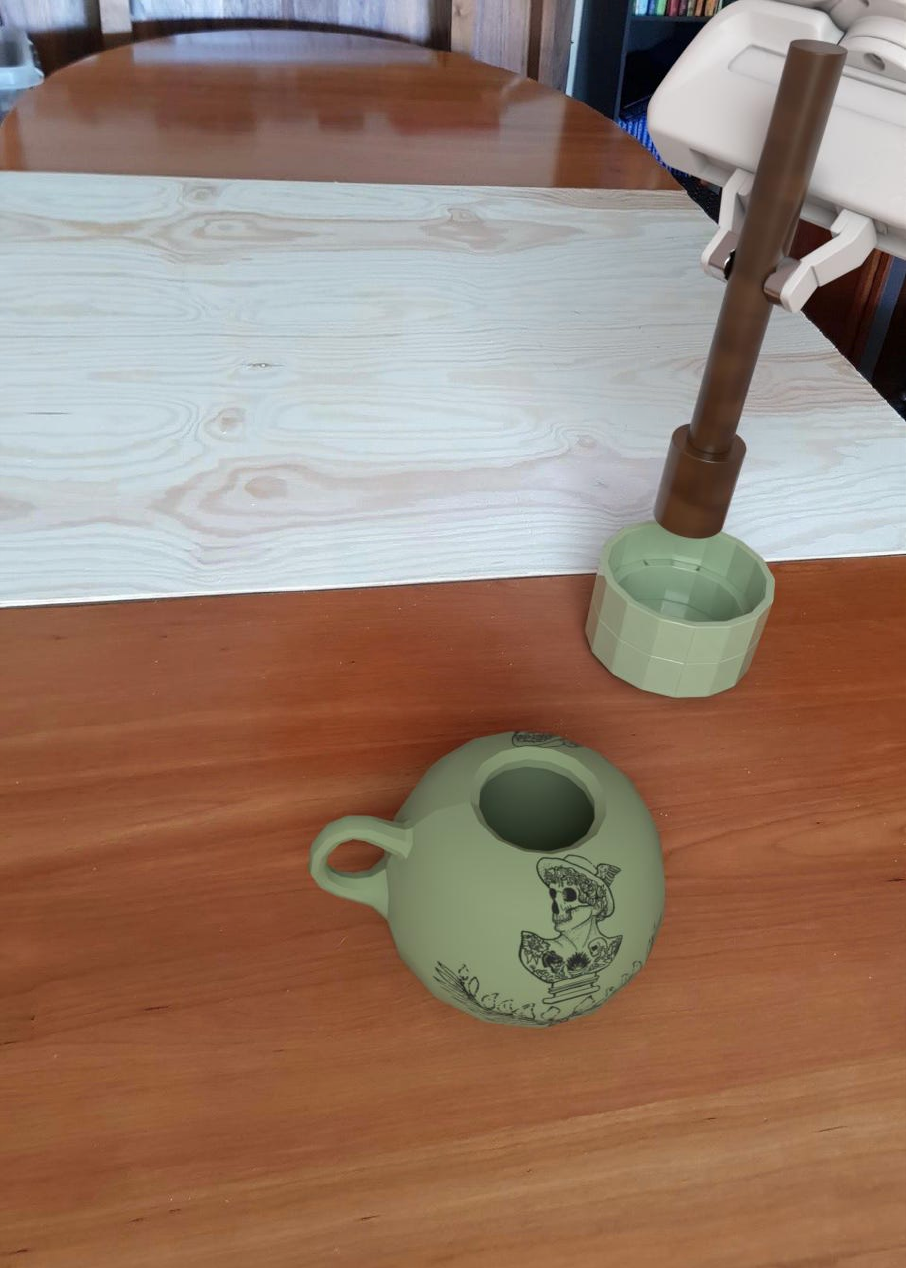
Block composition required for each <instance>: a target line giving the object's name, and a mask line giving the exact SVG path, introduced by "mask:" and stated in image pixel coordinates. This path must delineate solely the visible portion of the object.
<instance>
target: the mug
mask: <svg viewBox="0 0 906 1268" xmlns="http://www.w3.org/2000/svg"><path fill="white" fill-rule="evenodd" d="M352 840H355V841H362V842H367V843H368V844H371V845H374V846H376V847H378V848H381V849H383V856H382V858H381V859H380V860H379V861H377V863H375V864H374V865H373V866H372V867H371V868H369V869H364V870H360V871H356V872H351V871H341V870H339V869H337V868H335V867H333V866H330V865H329V863H328V859H329V856H330V854H331V853H332V852H333V851H334V850H335V849H336V848H337V847H338V846H339V845H340V844H343V843H346V842H349V841H352ZM662 845H663V844H662V840H661V837H660V833H659V829H658V825H657V824H656V822H655V820H654V818H653V816H652V814H651V812H650V810H649V808H648V807H647V806H646V804H645V802H644V800H643V799H642V797H641V795H640V793H639V792H638V790H637V788H636V786H635V785H634V782H633V781H632V780H631V777H629V776H628V775H627V774H625V773H624V772H623V771H622V770H621V769H619V768H618V767H617V766H615V765H614V764H613V763H612V762H611V761H610V760H608V759H607V758H606V757H605V756H603V755H602V754H601V753H600V752H599V751H597V750H594V749H592V748H590V747H587V746H585V745H582V744H580V743H577V742H575V741H573V740H570V739H567V738H565V737H563V736H559V735H557V734H551V733H540V732H532V731H531V732H530V731H524V730H523V731H522V730H521V731H520V730H511V731H506V732H501V733H496V734H491V735H485V736H481V737H476V738H472V739H471V740H469V741H467V742H466V743H464V744H463V745H460V746H458V747H457V748H456V749H454V750H452V751H451V752H448V753H447V754H445V755H444V756H442V757H441V758H439V759H438V760H437V761H435V762H434V763H433V764H432V765H431V766H429V767H428V769H427V770H426V772H425V773H424V774H423V776H422V777H420V780H419V781H418V782H417V784H416V785H415V786H414V788H413V790H412V791H411V792H410V794H409V795H408V797H407V798H406V799H405V801H404V803H403V804H402V806H401V807H400V808H399V810H398V811H397V812H396V814H395V815H394V817H393V821H391V820H387V819H384V818H379V817H376V816H372V815H354V814H353V815H351V814H350V815H345V816H343V817H340V818H339V819H336V820H333V821H331V822H329V823H327V824H325V826H324V828H323V829H322V830H321V831H319V833H318V834H317V835H316V837H315V838H313V841H312V843H311V846H310V849H309V856H308V862H307V863H308V864H307V869H308V871H309V874H310V875H311V877H312V878H313V880H314V881H315V883H316V884H317V885H318V887H319V889H322V890H324V891H326V892H327V893H329V894H331V895H333V896H336V897H338V898H342V899H345V900H348V901H352V902H356V903H357V904H362V905H365V906H369V907H371V908H372V909H373V910H375V911H376V912H377V914H379V915H380V916H381V917H382V918H384V919H385V920H386V922H387V925H388V928H389V930H390V934H391V937H392V939H393V942H394V945H395V948H396V950H397V954H398V956H399V959H400V960H401V961H402V963H404V965H405V966H406V967H407V968H408V969H409V970H410V971H411V973H413V975H414V976H415V977H416V978H417V979H418V980H419V982H420V983H421V984H422V985H423V986H424V987H425V989H427V990H428V992H429V993H430V994H431V995H432V996H433V997H434V998H435V999H437V1000H439V1001H442V1002H444V1003H445V1004H447V1005H449V1006H450V1007H453V1008H455V1009H457V1010H459V1011H462V1012H463V1013H466V1014H467V1015H470V1016H472V1017H473V1018H476V1019H478V1020H480V1021H482V1022H483V1023H488V1024H495V1025H505V1026H514V1027H525V1028H534V1029H545V1028H548V1027H552V1026H556V1025H559V1024H562V1023H566V1022H570V1021H573V1020H577V1019H579V1018H580V1019H581V1018H584V1017H588V1016H590V1015H594V1014H595V1013H596V1012H598V1011H599V1010H600V1009H601V1008H602V1007H603V1006H604V1005H606V1004H607V1003H608V1002H610V1000H612V999H613V998H614V997H615V996H617V994H619V993H620V992H621V991H622V990H624V989H625V988H626V987H627V986H628V985H630V983H632V981H633V980H634V979H635V978H636V976H637V975H638V974H639V973H640V972H641V971H642V969H643V967H644V966H645V965H646V964H647V962H648V959H649V957H650V954H651V952H652V950H653V947H654V944H655V942H656V939H657V937H658V934H659V931H660V930H661V927H662V924H663V922H664V920H665V908H666V907H665V906H666V891H667V890H666V889H667V888H666V877H665V867H664V857H663V856H664V855H663V848H662V847H663V846H662Z"/></svg>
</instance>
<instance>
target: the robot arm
mask: <svg viewBox="0 0 906 1268" xmlns="http://www.w3.org/2000/svg"><path fill="white" fill-rule="evenodd" d="M799 39H810V40H819V41H825V42H829V43H833V44H837V45H840V46H842V47H844V48H846V49H847V50H848V54H847V58H846V61H845V64H844V68H843V71H842V75H841V78H840V81H839V85H838V88H837V91H836V95H835V98H834V102H833V105H832V108H831V112H830V115H829V119H828V122H827V125H826V129H825V132H824V136H823V139H822V142H821V146H820V149H819V153H818V156H817V159H816V163H815V166H814V170H813V173H812V176H811V180H810V183H809V187H808V190H807V193H806V197H805V200H804V203H803V207H802V210H801V214H800V217H799V219H801V220H803V221H805V222H809V223H811V224H813V225H816V226H819V227H821V228H823V229H825V230H829V231H830V235H831V237H832V239H831V240H829V241H827V242H825V243H824V244H823V245H821V246H819V247H818V248H816V249H815V250H813V251H811V252H809V253H808V254H807V255H805V256H804V257H802V258H800V259H799V260H798V259H796V258H793V257H791V256H789V255H788V256H786V255H785V256H784V257H783V259H782V260H781V261H780V262H779V263H778V265H777V266H776V272H775V273H773V274H771V275H770V276H769V277H768V279H767V280H766V282H765V284H764V289H763V291H764V294H765V295H766V296H767V297H768V298H767V300H768V302H770V303H772V304H774V305H773V306H776V307H778V308H780V309H782V310H784V311H786V312H788V313H791V314H793V315H796V314H798V313H799V312H800V311H801V310H802V308H803V307H804V305H805V304H806V303H807V301H808V300H809V298H811V296H812V295H813V293H814V292H815V291H816V289H817V288H818V287H821V288H822V286H824V285H826V284H828V283H830V282H832V281H834V280H837V279H838V278H841V277H842V276H844V275H845V274H847V273H849V272H851V271H854V270H855V269H857V268H859V267H860V266H862V265H863V264H864V262H865V261H866V259H867V258H868V256H869V255H870V254H871V252H872V251H873V250H874V249H876V250H879V251H881V252H884V253H886V254H889V255H891V256H894V257H896V258H899V259H901V260H904V261H906V0H736V1H733V2H731V3H730V4H728V5H726V6H724V7H722V9H720V11H718V12H717V13H715V15H714V16H712V17H711V18H710V19H709V20H708V21H707V22H706V24H704V25H703V27H702V28H701V29H700V30H699V31H698V33H697V34H696V35H695V36H694V38H693V39H692V41H690V43H689V44H688V45H687V46H686V48H685V50H683V51H682V53H681V54H680V56H679V57H678V59H677V60H676V61H675V62H674V64H673V65H672V66H671V68H670V69H669V71H668V72H667V73H666V75H665V77H664V78H663V79H662V81H661V82H660V84H659V85H658V86H657V88H656V90H655V91H654V92H653V95H652V96H651V98H650V99H649V102H648V105H647V111H646V127H647V128H646V129H647V130H646V131H647V132H648V135H649V137H650V139H651V141H652V143H653V146H654V148H655V150H656V152H657V154H658V155H659V157H660V159H661V161H662V162H663V164H665V165H666V166H668V167H670V168H673V169H675V170H678V171H680V172H683V173H685V174H688V175H691V176H692V177H696V178H698V179H700V180H703V181H705V182H708V183H711V184H713V185H715V186H718V187H720V188H722V191H721V198H720V207H719V216H718V224H717V227H718V229H717V231H716V232H715V234H714V235H713V236H712V238H711V239H710V240H709V242H708V244H707V245H706V247H705V248H704V249H703V250H702V252H701V253H700V254H701V255H700V257H699V258H700V259H699V263H700V265H701V267H702V269H703V271H704V273H705V275H707V276H709V277H712V278H714V279H716V280H718V281H721V282H723V283H725V284H727V282H728V278H729V274H730V270H731V267H732V263H733V259H734V255H735V251H736V247H737V244H738V240H739V236H740V232H741V228H742V224H743V221H744V217H745V213H746V209H747V205H748V201H749V197H750V194H751V190H752V186H753V182H754V178H755V174H756V171H757V167H758V163H759V159H760V155H761V151H762V148H763V144H764V140H765V136H766V132H767V128H768V125H769V121H770V117H771V113H772V109H773V105H774V101H775V98H776V94H777V90H778V86H779V82H780V78H781V75H782V71H783V67H784V63H785V59H786V55H787V52H788V48H789V44H790V42H791V41H793V40H799Z"/></svg>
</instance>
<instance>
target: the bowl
mask: <svg viewBox="0 0 906 1268" xmlns="http://www.w3.org/2000/svg"><path fill="white" fill-rule="evenodd" d="M602 547H603V548H602V552H601V555H600V557H599V561H598V566H597V571H596V575H595V580H594V586H593V590H592V594H591V598H590V599H591V600H590V604H589V609H588V614H587V618H586V623H585V628H584V632H585V635H586V638H587V641H588V644H589V648H590V651H591V653H592V654H593V655H594V656H595V657H596V658H597V659H598V660H599V661H600V663H601V664H602V665H603V666H604V667H605V668H606V669H607V670H608V671H609V672H610V673H611V674H612V675H613V676H615V677H617V678H619V679H621V680H622V681H625V682H626V683H628V684H629V685H631V686H633V687H635V688H637V689H639V690H641V691H646V692H649V693H654V694H657V695H661V696H666V697H669V698H675V699H678V698H679V699H680V698H681V699H682V698H707V697H712V696H714V695H716V694H718V693H722V692H724V691H727V690H729V689H732V688H734V687H735V686H736V684H737V683H739V682H740V680H741V679H742V678H743V677H744V675H746V673H748V671H749V670H750V667H751V665H752V662H753V659H754V657H755V653H756V650H757V648H758V646H759V642H760V639H761V637H762V634H763V632H764V628H765V625H766V623H767V621H768V617H769V614H770V611H771V609H772V606H773V603H774V601H775V600H774V599H775V588H776V587H775V586H776V579H775V577H774V576H773V573H772V571H771V570H770V568H769V566H768V564H767V563H766V561H765V559H764V558H763V557H762V556H761V555H760V554H758V553H757V552H756V551H755V550H753V549H752V548H751V547H750V546H749V545H748V544H746V543H745V542H744V541H743V540H741V539H739V538H737V537H734V536H733V535H730V534H728V533H726V532H725V531H722V530H721V531H720V532H719V533H718V534H717V535H715V536H712V537H709V538H704V539H692V538H685V537H681V536H678V535H675V534H673V533H671V532H669V531H667V530H665V529H664V528H663V527H661V526H660V525H659V524H658V523H657V521H656V520H655V519H649V520H645V521H640V522H638V523H634V524H631V525H630V524H629V525H627V526H624V527H621V529H619V530H618V531H617V532H616V533H614V534H613V535H612V536H610V537H609V538H608V539H607V540H605V542H604V544H603V546H602Z"/></svg>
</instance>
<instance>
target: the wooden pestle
mask: <svg viewBox="0 0 906 1268" xmlns="http://www.w3.org/2000/svg"><path fill="white" fill-rule="evenodd" d="M847 54H848V50H847V49H846V48H844V47H842V46H840V45H837V44H833V43H829V42H825V41H819V40H810V39H799V40H793V41H791V42H790V44H789V48H788V52H787V55H786V59H785V63H784V67H783V71H782V75H781V78H780V82H779V86H778V90H777V94H776V98H775V101H774V105H773V109H772V113H771V117H770V121H769V125H768V128H767V132H766V136H765V140H764V144H763V148H762V151H761V155H760V159H759V163H758V167H757V171H756V174H755V178H754V182H753V186H752V190H751V194H750V197H749V201H748V205H747V209H746V213H745V217H744V221H743V224H742V228H741V232H740V236H739V240H738V244H737V247H736V251H735V255H734V259H733V263H732V267H731V270H730V274H729V278H728V282H727V283H726V286H725V290H724V293H723V297H722V301H721V305H720V309H719V312H718V316H717V320H716V324H715V329H714V332H713V336H712V339H711V343H710V348H709V351H708V355H707V359H706V363H705V367H704V371H703V375H702V378H701V382H700V386H699V390H698V393H697V397H696V402H695V405H694V409H693V413H692V416H691V420H690V423H685V424H682V425H680V426H678V427H677V428H675V429H674V430H673V432H672V434H671V437H670V441H669V446H668V450H667V453H666V457H665V462H664V466H663V470H662V474H661V478H660V481H659V485H658V490H657V494H656V498H655V502H654V505H653V511H652V513H653V517H654V520H656V521H657V523H658V524H659V525H660V526H661V527H663V528H664V529H665V530H667V531H669V532H671V533H673V534H675V535H678V536H681V537H685V538H692V539H704V538H709V537H712V536H715V535H717V534H718V533H719V532H720V531H722V530H723V529H724V527H725V523H726V520H727V516H728V513H729V510H730V507H731V503H732V499H733V496H734V493H735V490H736V487H737V483H738V480H739V477H740V473H741V470H742V467H743V464H744V462H745V461H744V460H745V457H746V454H747V449H748V447H747V445H746V442H745V441H744V439H743V438H742V437H741V436H739V435H738V433H737V431H738V427H739V424H740V420H741V418H742V415H743V414H742V413H743V410H744V407H745V404H746V400H747V396H748V393H749V389H750V386H751V382H752V379H753V376H754V373H755V370H756V367H757V363H758V359H759V357H760V353H761V349H762V346H763V343H764V339H765V336H766V333H767V328H768V326H769V323H770V319H771V315H772V311H773V308H774V306H775V305H774V304H772V303H770V302H768V300H767V298H768V297H767V296H766V295H765V294H764V291H763V289H764V284H765V282H766V280H767V279H768V277H769V276H770V275H771V274H773V273H775V272H776V266H777V265H778V263H779V262H780V261H781V260H782V259H783V257H784V256H785V255H786V256H788V257H789V254H790V251H791V247H792V244H793V241H794V237H795V235H796V231H797V227H798V224H799V220H800V218H799V217H800V214H801V210H802V207H803V203H804V200H805V197H806V193H807V190H808V187H809V183H810V180H811V176H812V173H813V170H814V166H815V163H816V159H817V156H818V153H819V149H820V146H821V142H822V139H823V136H824V132H825V129H826V125H827V122H828V119H829V115H830V112H831V108H832V105H833V102H834V98H835V95H836V91H837V88H838V85H839V81H840V78H841V75H842V71H843V68H844V64H845V61H846V58H847Z"/></svg>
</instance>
